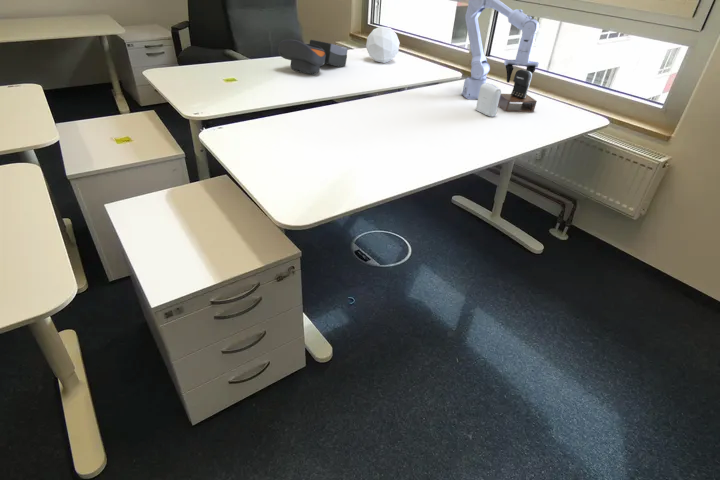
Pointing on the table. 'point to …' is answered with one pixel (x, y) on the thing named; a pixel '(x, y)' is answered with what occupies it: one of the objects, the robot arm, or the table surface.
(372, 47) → the geometric orb
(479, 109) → the photo printer
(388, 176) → the table surface
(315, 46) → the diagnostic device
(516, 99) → the shelf
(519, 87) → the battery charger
